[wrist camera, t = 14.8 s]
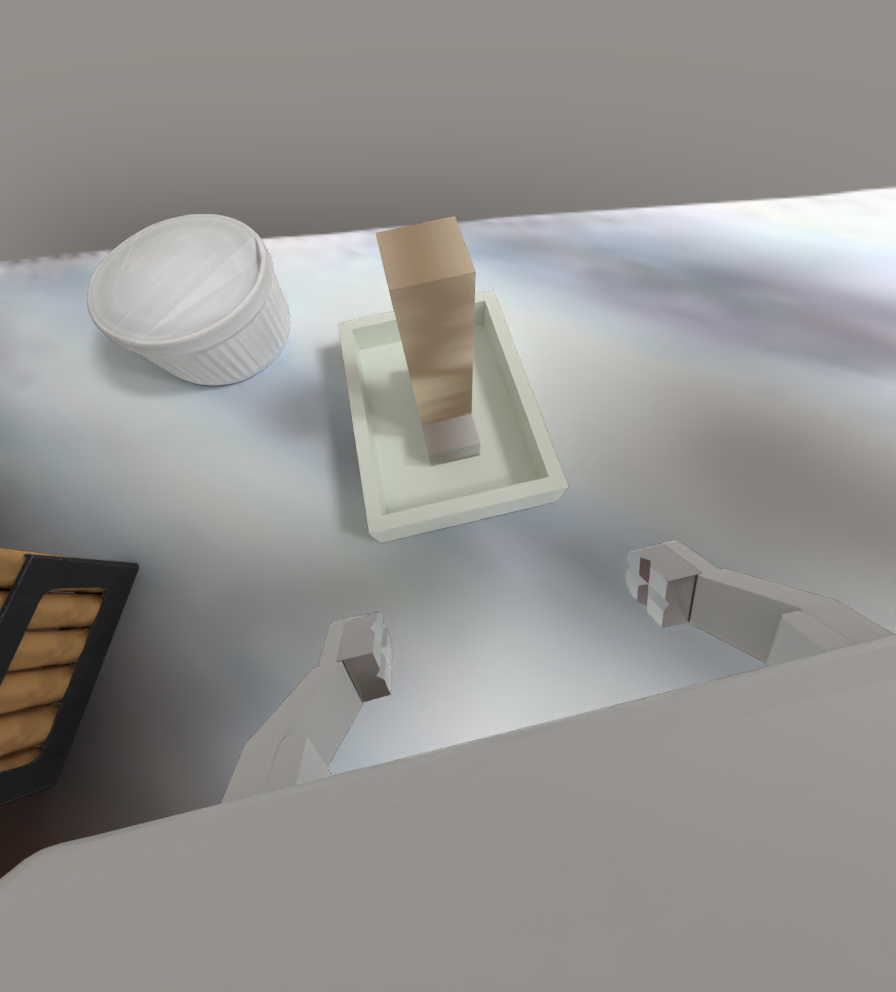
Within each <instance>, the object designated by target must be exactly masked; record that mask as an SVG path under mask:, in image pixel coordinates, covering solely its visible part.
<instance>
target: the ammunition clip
mask: <svg viewBox="0 0 896 992" xmlns="http://www.w3.org/2000/svg"><path fill="white" fill-rule="evenodd" d="M138 569H139V566H138V564H137V563H126V562H115V561H103V560H92V559H81V558H73V557H65V556H57V555H50V554H42V553H34V552H27V551H19V550H11V549H4V548H0V714H3V715H0V806H3V805H5V804H8V803H11V802H13V801H16V800H18V799H21V798H24V797H26V796H29V795H32V794H34V793H37V792H39V791H42V790H45V789H47V788H50V787H52V786H54V785H55V784H56V783H57V780H58V778H59V775H60V773H61V770H62V767H63V765H64V762H65V760H66V757H67V754H68V752H69V749H70V746H71V744H72V741H73V739H74V736H75V733H76V731H77V728H78V726H79V723H80V720H81V718H82V715H83V713H84V710H85V707H86V705H87V702H88V700H89V697H90V694H91V692H92V689H93V686H94V684H95V681H96V679H97V676H98V673H99V671H100V668H101V666H102V663H103V660H104V658H105V655H106V653H107V650H108V647H109V645H110V642H111V640H112V637H113V634H114V632H115V629H116V626H117V624H118V621H119V619H120V616H121V613H122V611H123V608H124V606H125V603H126V600H127V598H128V595H129V593H130V590H131V587H132V585H133V582H134V580H135V577H136V574H137V572H138ZM49 591H61V592H75V593H53V592H49ZM53 628H60V629H57V630H38V631H26V630H27V629H53ZM38 667H43V668H38ZM31 668H37V669H31ZM23 669H30V670H23ZM15 670H23V671H16V672H9V673H7V671H15ZM22 709H25V710H22ZM18 710H21V711H18ZM13 711H16V712H13ZM8 712H12V713H8ZM4 713H8V714H4Z"/></svg>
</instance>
